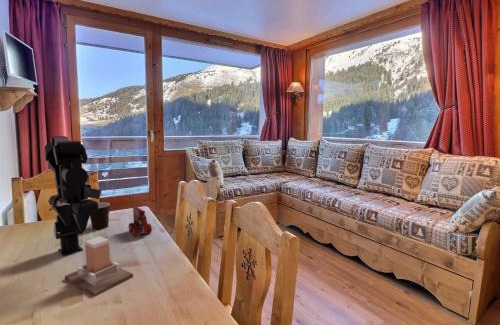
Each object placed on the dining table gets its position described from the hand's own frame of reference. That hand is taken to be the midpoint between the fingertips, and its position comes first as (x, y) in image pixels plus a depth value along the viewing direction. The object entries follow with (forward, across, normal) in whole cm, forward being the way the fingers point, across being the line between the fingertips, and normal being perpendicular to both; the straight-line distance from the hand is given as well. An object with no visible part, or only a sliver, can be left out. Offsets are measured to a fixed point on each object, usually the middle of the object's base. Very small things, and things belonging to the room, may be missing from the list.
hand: (75, 228), depth 94 cm
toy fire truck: (+13, +8, -30) cm, 34 cm away
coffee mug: (+13, +29, -25) cm, 41 cm away
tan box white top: (+12, -12, 0) cm, 17 cm away
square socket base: (+13, -12, 0) cm, 18 cm away
